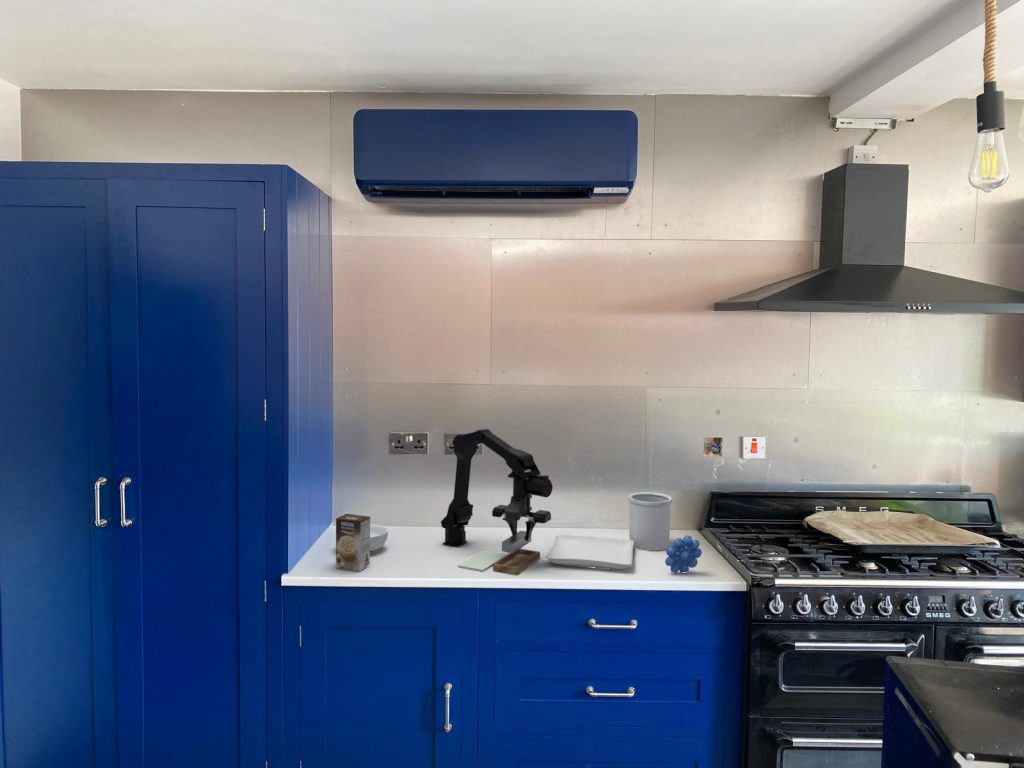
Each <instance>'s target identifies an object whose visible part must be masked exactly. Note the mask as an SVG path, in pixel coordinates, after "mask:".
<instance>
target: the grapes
mask: <svg viewBox="0 0 1024 768" xmlns="http://www.w3.org/2000/svg"><path fill="white" fill-rule="evenodd" d="M700 544H701V543H700V540H699V539H693V537H692V536H691V535H685V536H684V537H683V538H678V537H677V538H675V539H674V541H673V542H672V545H673V546H671V545H669V547H668V548H667V549H666V556H667V557H666V558H665V560H664V564H665V565H666V566H667V567H670V571H671V573H672V572H676V573H678V572H680V573H681V572H687V571H688V572H689V570H690V568H695V567H697V565H698V563H699V562H698V561H699V560H698V559H699V558H700V557H701V556H702V552H703V551H702V549H701V548H699V547H700ZM688 572H687V573H688Z"/></svg>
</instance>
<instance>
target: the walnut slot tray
mask: <svg viewBox="0 0 1024 768" xmlns="http://www.w3.org/2000/svg"><path fill="white" fill-rule="evenodd" d="M539 559H541V551H538V550H537V551H536V550H533V549H532V550H530V549H525V548H520V549H519V550H517V551H516V552H514V553H509V552H508V555H506V556H505V557H503V558H502V559H500V560H499V561H497V562H496V563H494V564H493V566H492V572H495V573H501V574H502V573H503V574H508V575H512V576H513V575H514V576H518V575H519V574H521V573H522V572H524V571H525V570H526V569H528V568H529V567H530V566H532V565H533V564H534V563H536V562H537V561H538V560H539Z"/></svg>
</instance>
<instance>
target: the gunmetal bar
mask: <svg viewBox="0 0 1024 768" xmlns="http://www.w3.org/2000/svg"><path fill="white" fill-rule="evenodd" d="M532 533H533V532H532ZM532 533H531V535H530V538H529V540H528V541H526V530H519V531H517V533H516V534H514V535H512V534H511V536H509V537H508V538H506V539H504V540H503V541H501V552H502V553H508V554H509V553H514V552H516V551H517V550H519V549H523V547H525V546H526V545H528V544H529V543H531V542H532Z"/></svg>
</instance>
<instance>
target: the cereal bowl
mask: <svg viewBox="0 0 1024 768" xmlns="http://www.w3.org/2000/svg"><path fill="white" fill-rule="evenodd" d="M388 533H389V531H388V528H387V526H383V525H380V524H374V523H370V551H373V550H374V551H376V550H378V549H380V548H382V547H383V546H384V545H385V543H386V542H387V539H388V535H389V534H388ZM374 551H373V552H374Z"/></svg>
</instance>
